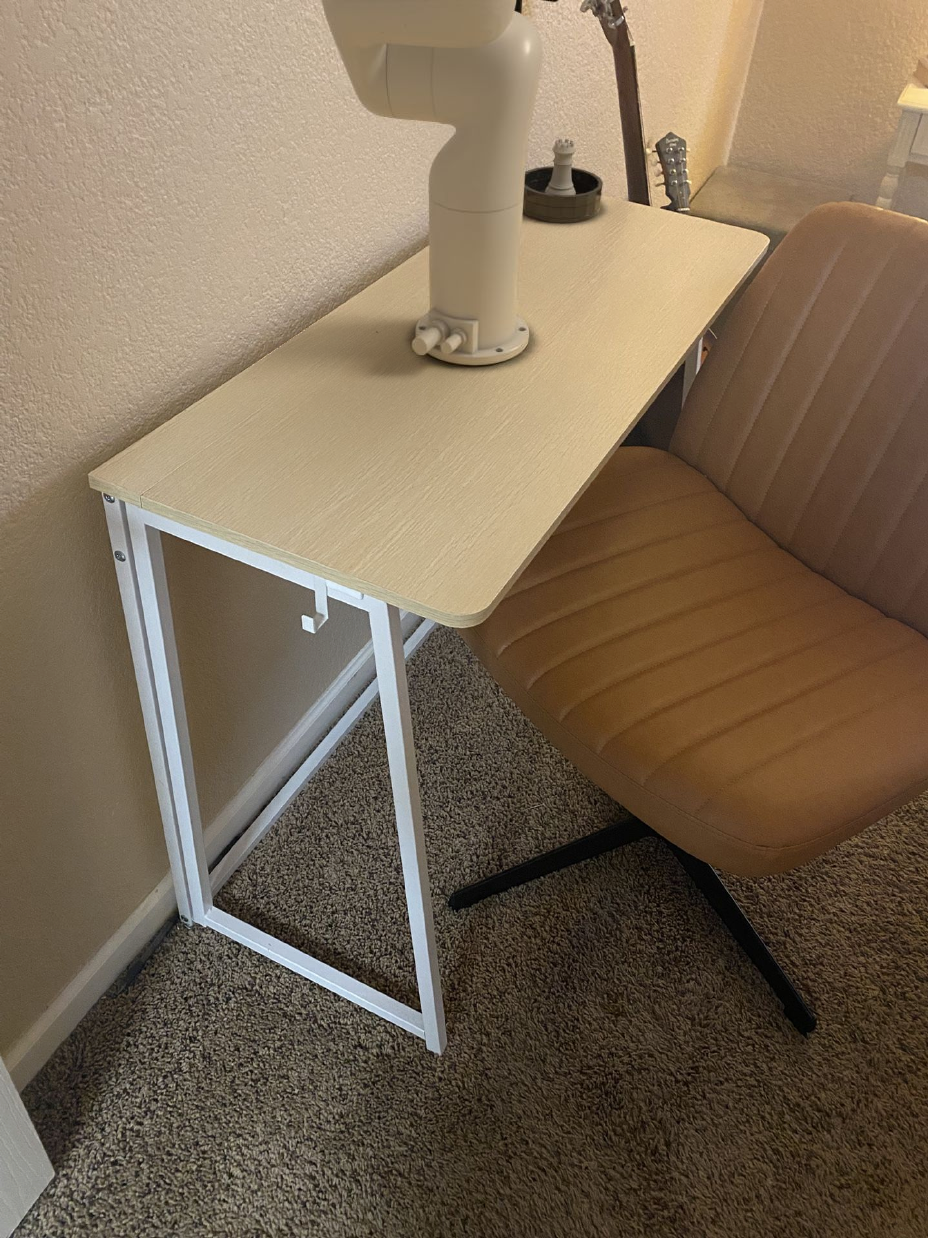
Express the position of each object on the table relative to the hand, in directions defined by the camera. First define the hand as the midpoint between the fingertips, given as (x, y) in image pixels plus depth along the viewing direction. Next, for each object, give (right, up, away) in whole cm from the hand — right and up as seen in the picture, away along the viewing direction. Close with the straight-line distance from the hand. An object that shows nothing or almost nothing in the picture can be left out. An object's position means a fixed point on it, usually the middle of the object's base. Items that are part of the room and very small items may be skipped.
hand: (526, 8), depth 105 cm
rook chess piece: (+6, -10, +27) cm, 29 cm away
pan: (+6, -10, +27) cm, 30 cm away
